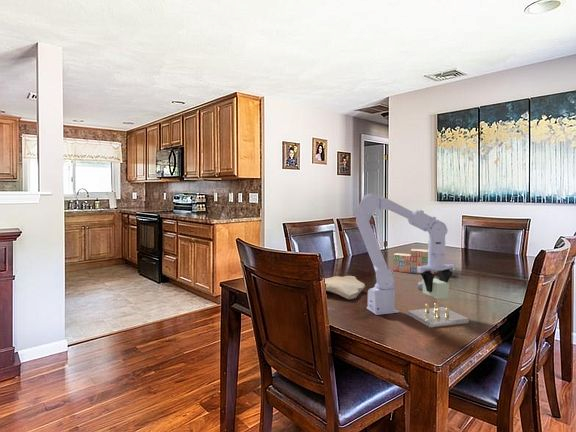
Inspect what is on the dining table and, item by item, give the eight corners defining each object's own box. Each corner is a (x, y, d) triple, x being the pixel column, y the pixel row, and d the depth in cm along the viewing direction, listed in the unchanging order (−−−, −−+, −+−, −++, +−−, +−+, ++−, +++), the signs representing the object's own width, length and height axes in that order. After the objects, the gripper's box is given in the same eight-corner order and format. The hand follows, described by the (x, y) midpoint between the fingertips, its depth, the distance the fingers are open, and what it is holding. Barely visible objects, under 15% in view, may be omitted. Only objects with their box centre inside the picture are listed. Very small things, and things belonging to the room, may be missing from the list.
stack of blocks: (392, 271, 206) (393, 249, 205) (395, 269, 212) (395, 247, 211) (434, 275, 197) (434, 251, 196) (435, 272, 202) (435, 250, 201)
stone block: (445, 291, 172) (424, 283, 178) (448, 281, 171) (426, 274, 177) (437, 298, 163) (415, 290, 169) (440, 287, 162) (417, 280, 168)
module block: (436, 298, 131) (437, 284, 131) (422, 292, 139) (422, 279, 138) (448, 297, 132) (449, 283, 132) (434, 291, 140) (434, 278, 140)
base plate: (430, 327, 122) (430, 314, 122) (407, 314, 135) (407, 302, 134) (468, 322, 126) (468, 309, 126) (442, 310, 139) (443, 298, 138)
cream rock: (320, 286, 180) (298, 291, 163) (321, 270, 180) (299, 274, 163) (368, 295, 167) (350, 302, 150) (369, 278, 167) (351, 284, 150)
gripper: (426, 256, 128) (425, 295, 129) (461, 254, 132) (460, 292, 133) (413, 253, 135) (413, 290, 136) (447, 251, 139) (446, 287, 140)
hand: (435, 290), depth 135 cm, fingers closed on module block, 5 cm apart
